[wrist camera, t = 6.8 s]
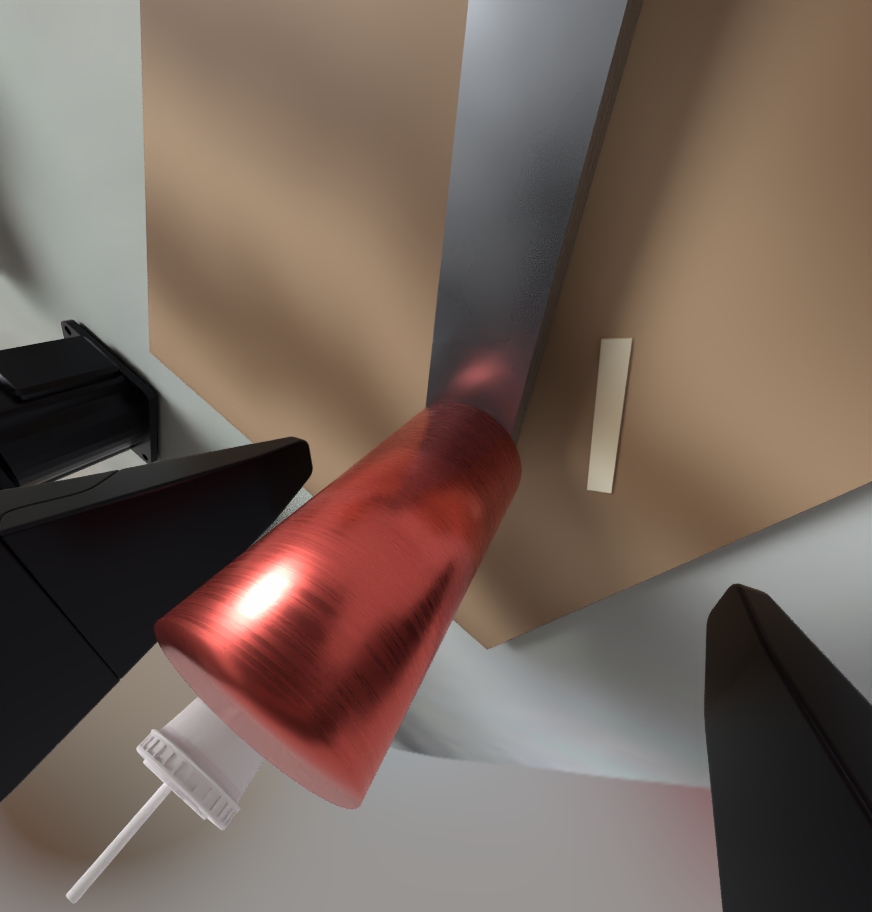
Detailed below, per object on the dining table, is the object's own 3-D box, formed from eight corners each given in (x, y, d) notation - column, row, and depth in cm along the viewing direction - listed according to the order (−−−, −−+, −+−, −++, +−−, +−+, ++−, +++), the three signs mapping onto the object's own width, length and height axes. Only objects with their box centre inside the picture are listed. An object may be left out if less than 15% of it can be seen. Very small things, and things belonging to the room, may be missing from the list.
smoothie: (290, 589, 24) (9, 871, 14) (359, 655, 24) (135, 988, 14) (266, 614, 28) (37, 846, 18) (326, 671, 28) (134, 935, 18)
